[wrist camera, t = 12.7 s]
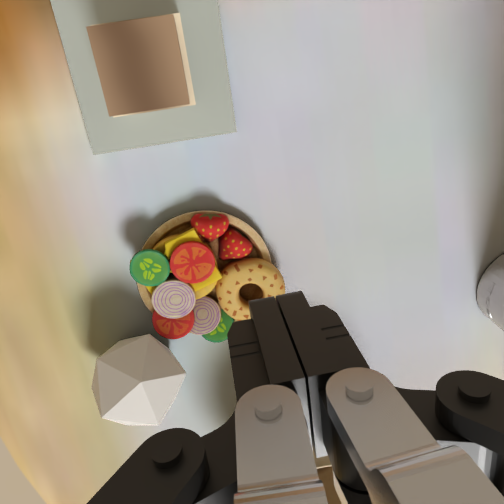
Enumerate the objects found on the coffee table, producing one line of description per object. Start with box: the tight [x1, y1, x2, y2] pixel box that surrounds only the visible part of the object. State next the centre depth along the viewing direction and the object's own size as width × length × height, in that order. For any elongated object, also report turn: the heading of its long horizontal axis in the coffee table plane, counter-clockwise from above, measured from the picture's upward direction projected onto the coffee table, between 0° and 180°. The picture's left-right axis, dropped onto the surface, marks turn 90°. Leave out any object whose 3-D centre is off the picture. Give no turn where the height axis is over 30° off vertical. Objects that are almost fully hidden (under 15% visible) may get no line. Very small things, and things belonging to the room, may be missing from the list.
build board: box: [50, 0, 237, 155], centre depth 35 cm, size 12×12×1 cm
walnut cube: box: [86, 14, 190, 117], centre depth 29 cm, size 5×5×5 cm
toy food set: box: [130, 211, 285, 342], centre depth 42 cm, size 13×13×3 cm
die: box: [92, 334, 186, 425], centre depth 43 cm, size 8×9×10 cm
